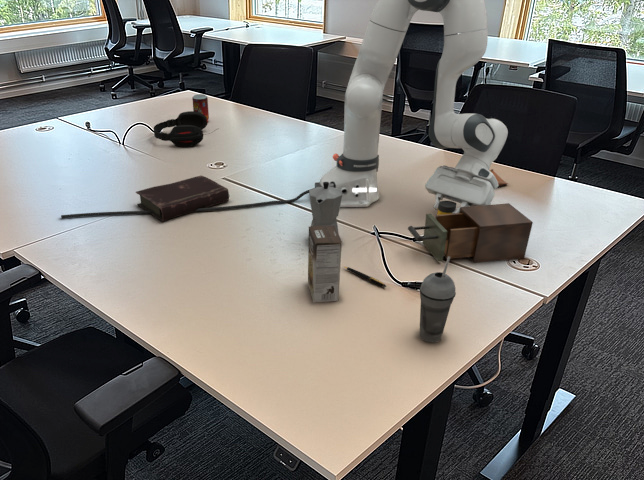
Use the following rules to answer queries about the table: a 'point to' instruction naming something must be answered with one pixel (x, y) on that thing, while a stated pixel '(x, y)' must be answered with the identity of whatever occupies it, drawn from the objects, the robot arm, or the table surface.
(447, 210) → the yellow jar
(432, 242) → the drawer
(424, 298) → the beverage cup
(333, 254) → the coffee box
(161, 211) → the diary
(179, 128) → the headset
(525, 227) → the cabinet
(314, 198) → the coffeepot
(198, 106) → the soda can
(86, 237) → the table surface
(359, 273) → the fountain pen
